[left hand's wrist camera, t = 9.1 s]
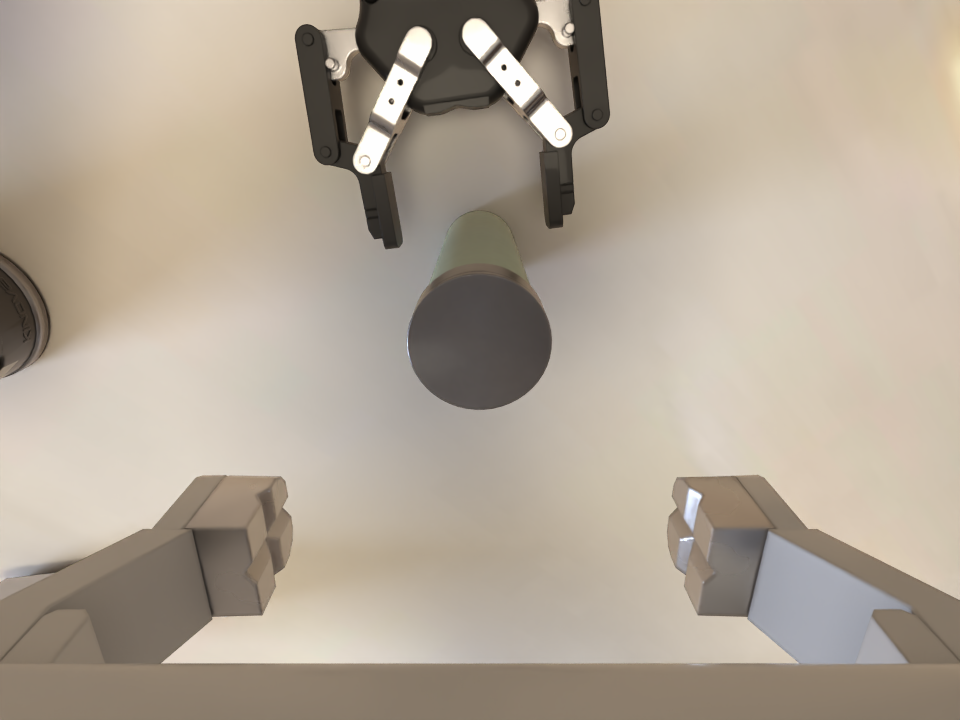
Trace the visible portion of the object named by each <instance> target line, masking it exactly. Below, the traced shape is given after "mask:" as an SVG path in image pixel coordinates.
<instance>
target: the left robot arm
mask: <svg viewBox="0 0 960 720" xmlns="http://www.w3.org/2000/svg"><path fill="white" fill-rule="evenodd" d="M287 498H288V493H287V488H286V482H285V480H284V479H283V478H282V477H278V476H226V475H203V476H199V477H196V478H195V479H194V480H193V482H192V483H191V484H190V485H189V486H188V487H187V489H186V490H185V491H184V492H183V493H182V494H181V496H180V497H179V498H178V499H177V500H176V501H175V503H174V504H173V505H172V506H171V507H170V508H169V510H168V511H167V512H166V513H165V514H164V515H163V517H162V518H161V519H160V520H159V521H158V522H157V524H156V525H155V526H154V527H153V528H152V529H142V530H140V531H138V532H136V533H134V534H132V535H130V536H128V537H126V538H124V539H122V540H120V541H118V542H116V543H114V544H112V545H110V546H108V547H106V548H104V549H102V550H100V551H98V552H96V553H94V554H92V555H90V556H88V557H86V558H84V559H82V560H80V561H78V562H76V563H74V564H72V565H70V566H68V567H66V568H64V569H62V570H60V571H58V572H56V573H54V574H52V575H50V576H48V577H46V578H44V579H42V580H40V581H38V582H36V583H34V584H32V585H30V586H28V587H26V588H24V589H22V590H20V591H18V592H16V593H14V594H12V595H10V596H8V597H6V598H4V599H2V600H0V720H960V600H958V599H956V598H954V597H952V596H950V595H948V594H946V593H944V592H942V591H940V590H938V589H936V588H934V587H932V586H930V585H928V584H926V583H924V582H922V581H920V580H918V579H916V578H914V577H912V576H910V575H908V574H906V573H904V572H902V571H900V570H898V569H896V568H894V567H892V566H890V565H888V564H886V563H884V562H882V561H880V560H878V559H876V558H874V557H872V556H870V555H868V554H866V553H864V552H862V551H860V550H858V549H856V548H854V547H852V546H850V545H848V544H846V543H844V542H842V541H840V540H838V539H836V538H834V537H832V536H830V535H828V534H826V533H824V532H822V531H820V530H818V529H808V528H807V527H806V526H805V525H804V524H803V523H802V521H801V520H800V519H799V518H798V517H797V516H796V514H795V513H794V512H793V511H792V510H791V509H790V507H789V506H788V505H787V504H786V503H785V502H784V500H783V499H782V498H781V497H780V496H779V495H778V493H777V492H776V491H775V490H774V489H773V488H772V486H771V485H770V484H769V483H768V482H767V481H766V479H765V478H763V477H761V476H759V475H743V476H719V477H677V479H676V481H675V483H674V486H673V492H672V498H673V499H674V501H675V503H676V505H677V508H676V510H675V511H674V512H673V513H672V514H671V515H670V516H669V519H668V528H667V537H668V547H669V551H670V555H671V558H672V561H673V563H674V565H675V567H676V568H677V569H678V570H680V571H681V572H682V573H684V574H685V575H686V577H685V584H684V587H685V589H686V591H687V593H688V596H689V598H690V600H691V602H692V604H693V606H694V608H695V610H696V613H697V615H705V616H741V617H748V620H749V621H750V622H752V623H753V624H754V625H755V626H756V627H757V628H759V629H760V630H761V631H762V632H763V633H765V634H766V635H767V636H768V637H769V638H770V639H772V640H773V641H774V642H775V643H776V644H777V645H779V646H780V647H781V648H782V649H783V650H784V651H786V652H787V653H788V654H789V655H790V656H792V657H793V658H794V659H795V660H796V661H797V662H799V663H800V664H160V663H162V662H163V661H164V660H165V659H166V658H167V657H169V656H170V655H171V654H172V653H173V652H175V651H176V650H177V649H178V648H179V647H180V646H182V645H183V644H184V643H185V642H186V641H187V640H189V639H190V638H191V637H192V636H193V635H195V634H196V633H197V632H198V631H199V630H200V629H202V628H203V627H204V626H205V625H206V624H208V623H209V622H210V621H211V620H212V617H219V616H254V615H263V613H264V611H265V608H266V606H267V604H268V602H269V600H270V598H271V596H272V593H273V591H274V589H275V587H276V584H275V577H274V575H275V574H276V573H278V572H279V571H280V570H282V569H283V568H284V567H285V565H286V563H287V560H288V558H289V556H290V551H291V546H292V541H293V526H292V519H291V516H290V515H289V514H288V513H287V512H286V511H285V510H284V509H283V505H284V503H285V501H286V499H287Z"/></svg>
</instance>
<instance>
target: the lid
mask: <svg viewBox="0 0 960 720" xmlns="http://www.w3.org/2000/svg"><path fill="white" fill-rule="evenodd" d="M551 348H552V336H551V329H550V325H549V321H548V319H547V316H546V313H545V311H544V308H543V306H542V303H541V301H540V299H539V297H538V295H537V293H536V292H535V291H534V289H533V288H532V287H531V286H530V285H529V284H528V283H527V282H526V281H525V280H524V279H523V278H522V277H520V276H519V275H518V274H516V273H514V272H512V271H511V270H508V269H506V268H503V267H501V266H497V265H493V264H485V263H473V264H466V265H462V266H458V267H455V268H453V269H451V270H448V271H447V272H445V273H443V274H441V275H440V276H439V277H437V278H436V279H435V280H433V281H432V282H431V284H430V285H429V286H428V287H427V288H426V289H425V291H424V292H423V293H422V295H421V297H420V299H419V300H418V303H417V305H416V308H415V310H414V313H413V316H412V318H411V321H410V324H409V328H408V334H407V350H408V355H409V359H410V362H411V365H412V367H413V369H414V371H415V373H416V375H417V377H418V378H419V380H420V381H421V382H422V383H423V385H424V386H425V387H426V388H427V389H428V390H429V391H430V392H432V393H433V394H434V395H435V396H437V397H438V398H440V399H441V400H443V401H445V402H447V403H449V404H452V405H455V406H457V407H462V408H466V409H474V410H485V409H493V408H497V407H501V406H504V405H507V404H509V403H512V402H514V401H515V400H517V399H519V398H521V397H522V396H523V395H525V394H526V393H527V392H528V391H530V390H531V389H532V388H533V387H534V386H535V384H536V383H537V382H538V381H539V379H540V378H541V376H542V375H543V373H544V371H545V369H546V367H547V365H548V362H549V359H550V354H551Z"/></svg>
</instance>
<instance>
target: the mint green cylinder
mask: <svg viewBox="0 0 960 720" xmlns="http://www.w3.org/2000/svg"><path fill="white" fill-rule="evenodd" d="M473 263H485V264H493V265H497V266H501V267H503V268H506V269H508V270H511V271H512V272H514V273H516V274H518V275H519V276H520V277H522V278H523V279H524V280H525V281H526V282H527V283H528V284H529V281H528V278H527V275H526V272H525V270H524V267H523V264H522V261H521V258H520V255H519V252H518V250H517V247H516V244H515V241H514V238H513V235H512V233H511V230H510V229H509V227H508V225H507V224H506V223H505V222H504V221H503V220H502V219H501V218H500V217H498V216H497V215H495V214H493V213H490V212H486V211H472V212H469V213H466V214H464V215H462V216H460V217H459V218H458V219H456V220H455V221H454V223H453V224H452V225H451V226H450V228H449V230H448V232H447V235H446V238H445V241H444V243H443V246H442V249H441V252H440V255H439V258H438V260H437V263H436V266H435V269H434V272H433V275H432V278H431V280H430V283H429V285H430V284H431V282H432V281H433V280H435V279H436V278H437V277H439V276H440V275H441V274H443V273H445V272H447V271H448V270H451V269H453V268H455V267H458V266H462V265H466V264H473ZM529 285H530V284H529Z"/></svg>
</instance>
